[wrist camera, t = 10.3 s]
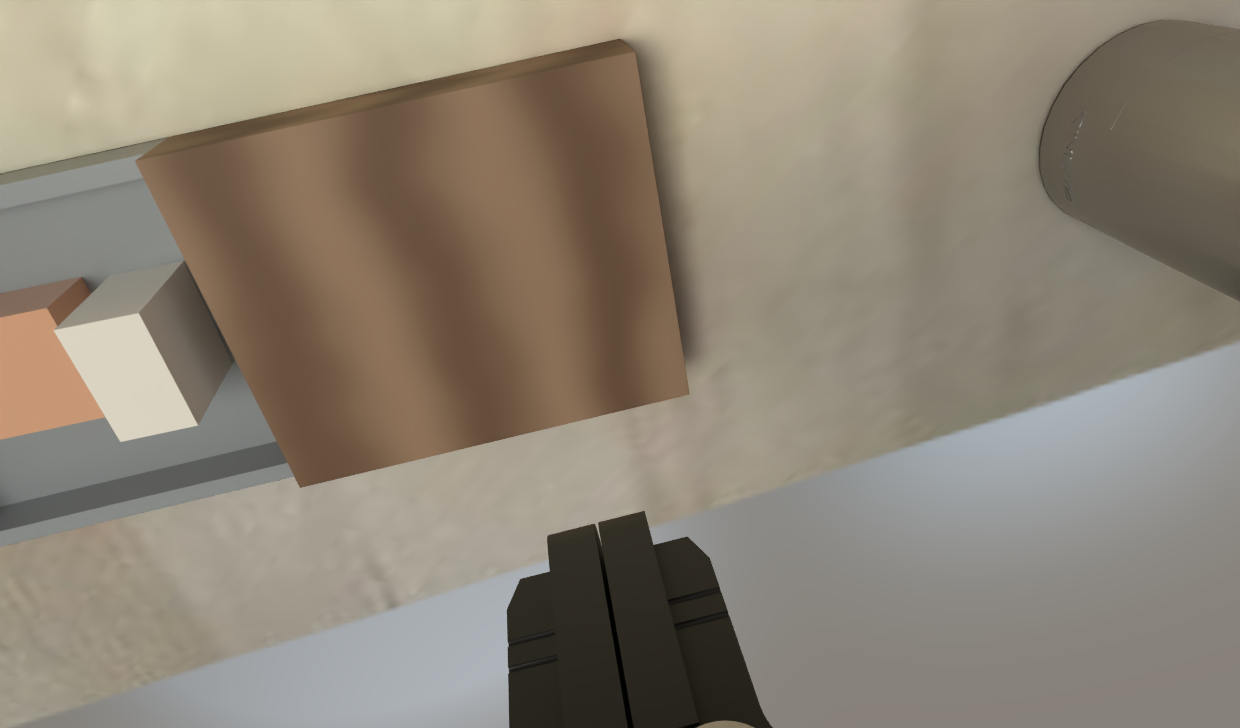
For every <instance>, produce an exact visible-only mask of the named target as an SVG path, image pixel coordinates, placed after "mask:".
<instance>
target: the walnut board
mask: <svg viewBox="0 0 1240 728" xmlns="http://www.w3.org/2000/svg"><path fill="white" fill-rule="evenodd" d="M135 163H136V164H137V166H138V168H139V170H140V172H141V174H142V176H143V178H144V180H145V182H146V184H147V186H148V188H149V190H150V192H151V194H152V196H153V198H154V200H155V202H156V204H157V206H158V208H159V210H160V212H161V214H162V216H163V218H164V220H165V222H166V224H167V226H168V228H169V230H170V232H171V234H172V236H173V238H174V240H175V242H176V244H177V245H178V247H179V249H180V251H181V253H182V255H183V257H184V259H185V261H186V263H187V265H188V267H189V269H190V271H191V273H192V275H193V277H194V279H195V281H196V283H197V285H198V287H199V289H200V291H201V293H202V295H203V297H204V299H205V301H206V303H207V305H208V307H209V309H210V311H211V313H212V315H213V317H214V319H215V321H216V323H217V325H218V327H219V328H220V330H221V332H222V334H223V336H224V338H225V340H226V342H227V344H228V346H229V348H230V350H231V352H232V354H233V356H234V358H235V360H236V362H237V364H238V366H239V368H240V370H241V372H242V374H243V376H244V378H245V380H246V382H247V384H248V386H249V388H250V390H251V392H252V394H253V396H254V398H255V400H256V402H257V404H258V406H259V408H260V409H261V411H262V413H263V415H264V417H265V419H266V421H267V423H268V425H269V427H270V429H271V431H272V433H273V435H274V437H275V439H276V441H277V443H278V445H279V447H280V449H281V451H282V453H283V455H284V457H285V459H286V461H287V463H288V465H289V467H290V469H291V471H292V473H293V475H294V477H295V479H296V481H297V483H298V485H299V487H300V488H301V487H305V486H309V485H313V484H318V483H322V482H326V481H330V480H334V479H339V478H343V477H347V476H351V475H355V474H359V473H364V472H368V471H372V470H376V469H380V468H384V467H389V466H393V465H397V464H401V463H405V462H409V461H414V460H418V459H422V458H426V457H430V456H434V455H439V454H443V453H447V452H451V451H455V450H459V449H464V448H468V447H472V446H476V445H480V444H484V443H489V442H493V441H497V440H501V439H505V438H510V437H514V436H518V435H522V434H526V433H530V432H535V431H539V430H543V429H547V428H551V427H555V426H560V425H564V424H568V423H572V422H576V421H580V420H585V419H589V418H593V417H597V416H601V415H605V414H610V413H614V412H618V411H622V410H626V409H630V408H635V407H639V406H643V405H647V404H651V403H655V402H660V401H664V400H668V399H672V398H676V397H680V396H685V395H689V388H688V381H687V375H686V369H685V362H684V356H683V350H682V343H681V337H680V331H679V325H678V318H677V312H676V306H675V299H674V293H673V287H672V280H671V274H670V268H669V261H668V255H667V249H666V243H665V236H664V230H663V224H662V217H661V211H660V205H659V198H658V192H657V186H656V179H655V173H654V167H653V161H652V154H651V148H650V142H649V135H648V129H647V123H646V116H645V110H644V104H643V98H642V91H641V85H640V79H639V72H638V66H637V60H636V53H635V51H634V50H633V49H632V48H630V47H629V46H628V45H627V44H626V43H624V42H623V41H622V40H621V39H617V40H613V41H608V42H603V43H599V44H594V45H590V46H585V47H580V48H576V49H571V50H567V51H562V52H557V53H553V54H548V55H544V56H539V57H534V58H530V59H525V60H521V61H516V62H512V63H507V64H502V65H498V66H493V67H489V68H484V69H479V70H475V71H470V72H466V73H461V74H456V75H452V76H447V77H443V78H438V79H433V80H429V81H424V82H420V83H415V84H410V85H406V86H401V87H397V88H392V89H388V90H383V91H378V92H374V93H369V94H365V95H360V96H355V97H351V98H346V99H342V100H337V101H332V102H328V103H323V104H319V105H314V106H309V107H305V108H300V109H296V110H291V111H286V112H282V113H277V114H273V115H268V116H264V117H259V118H254V119H250V120H245V121H241V122H236V123H231V124H227V125H222V126H218V127H213V128H208V129H204V130H199V131H195V132H190V133H185V134H181V135H176V136H172V137H168V138H167V139H165V140H164V141H163V142H161V143H160V144H158V145H157V146H156V147H154V148H153V149H151V150H150V151H148V152H147V153H146V154H144V155H143V156H141V157H140V158H138V159H137V160H136V161H135Z"/></svg>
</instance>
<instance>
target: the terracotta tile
mask: <svg viewBox="0 0 1240 728" xmlns="http://www.w3.org/2000/svg"><path fill="white" fill-rule="evenodd" d="M89 295H91V293H90V291H89V289H88V288H87V286H86V284H85V282H84V281H83V279H82V277H78V278H73V279H68V280H63V281H58V282H53V283H48V284H44V285H39V286H34V287H29V288H24V289H19V290H14V291H9V292H4V293H0V440H1V439H6V438H11V437H15V436H20V435H25V434H29V433H34V432H39V431H43V430H48V429H53V428H58V427H62V426H67V425H72V424H76V423H81V422H86V421H90V420H95V419H100V418H104V417H105V415H104V414H103V412H102V410H101V409H100V407H99V405H98V404H97V402H96V400H95V399H94V397H93V395H92V394H91V392H90V390H89V389H88V387H87V385H86V384H85V382H84V380H83V379H82V377H81V375H80V374H79V372H78V370H77V369H76V367H75V365H74V364H73V362H72V360H71V359H70V357H69V355H68V354H67V352H66V350H65V349H64V347H63V345H62V344H61V342H60V340H59V339H58V337H57V335H56V334H55V332H54V329H55V328H56V327H57V326H58V325H59V324H61V323H62V322H63V321H64V320H65V319H66V318H67V317H68V316H69V315H70V314H71V313H72V312H73V311H74V310H75V309H76V308H77V307H78V306H79V305H80V304H81V303H82V302H83V301H84V300H85V299H86V298H87V297H88V296H89Z"/></svg>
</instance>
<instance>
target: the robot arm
mask: <svg viewBox="0 0 1240 728" xmlns="http://www.w3.org/2000/svg"><path fill="white" fill-rule="evenodd" d="M1040 170H1041V175H1042V179H1043V183H1044V187H1045V188H1046V190H1047V192H1048V194H1049V196H1050V198H1051V200H1052V201H1053V202H1054V203H1055V204H1056V205H1057V206H1058V207H1059V208H1060V209H1061V210H1062V211H1063V212H1065V213H1067V214H1069V215H1071V216H1072V217H1074V218H1076V219H1078V220H1080V221H1082V222H1084V223H1086V224H1088V225H1090V226H1092V227H1094V228H1096V229H1098V230H1100V231H1102V232H1104V233H1106V234H1108V235H1110V236H1112V237H1113V238H1115V239H1117V240H1119V241H1121V242H1123V243H1125V244H1126V245H1128V246H1130V247H1132V248H1134V249H1136V250H1138V251H1140V252H1142V253H1144V254H1146V255H1148V256H1150V257H1152V258H1154V259H1156V260H1158V261H1160V262H1162V263H1164V264H1166V265H1168V266H1170V267H1172V268H1174V269H1176V270H1178V271H1180V272H1182V273H1184V274H1186V275H1188V276H1190V277H1192V278H1194V279H1196V280H1198V281H1200V282H1202V283H1204V284H1206V285H1208V286H1210V287H1212V288H1214V289H1216V290H1218V291H1220V292H1222V293H1224V294H1226V295H1228V296H1230V297H1232V298H1234V299H1236V300H1238V301H1240V29H1235V28H1228V27H1221V26H1214V25H1207V24H1200V23H1193V22H1186V21H1170V20H1161V21H1156V22H1152V23H1147V24H1142V25H1139V26H1137V27H1135V28H1133V29H1130V30H1128V31H1126V32H1123V33H1121V34H1119V35H1118V36H1116V37H1115V38H1113V39H1112V40H1110V41H1109V42H1107V43H1106V44H1104V45H1103V46H1101V47H1100V48H1099V49H1098V50H1097V51H1095V52H1094V53H1093V54H1092V55H1091V56H1090V57H1089V58H1088V59H1087V60H1086V61H1085V62H1084V63H1082V64H1081V65H1080V67H1079V68H1078V69H1077V70H1076V72H1075V73H1074V74H1073V75H1072V77H1071V78H1070V79H1069V80H1068V82H1067V83H1066V84H1065V86H1064V87H1063V89H1062V91H1061V93H1060V94H1059V96H1058V98H1057V100H1056V101H1055V103H1054V105H1053V107H1052V109H1051V112H1050V114H1049V117H1048V120H1047V122H1046V125H1045V127H1044V132H1043V137H1042V142H1041V147H1040ZM598 525H599V532H600V538H601V542H600V538H599V535H598V532H597V528H596V526H595V524H591V525H587V526H583V527H579V528H576V529H572V530H568V531H564V532H560V533H556V534H552V535H548V537H547V543H548V555H549V567H550V572H546V573H542V574H539V575H535V576H531V577H527V578H523V579H520V581H519V584H518V586H517V588H516V590H515V593H514V595H513V597H512V599H511V602H510V604H509V606H508V609H507V629H508V632H507V633H508V644H509V647H508V668H509V674H508V677H509V678H508V679H509V680H508V681H509V727H510V728H772V726H771V725H770V724H769V722H768V721H767V719H766V718H765V716H764V714H763V712H762V710H761V707H760V705H759V702H758V699H757V696H756V693H755V690H754V687H753V684H752V681H751V678H750V675H749V672H748V669H747V666H746V663H745V660H744V658H743V655H742V652H741V649H740V646H739V643H738V640H737V637H736V634H735V631H734V629H733V625H732V623H731V619H730V617H729V615H728V611H727V608H726V605H725V602H724V599H723V596H722V593H721V591H720V587H719V584H718V581H717V579H716V575H715V572H714V569H713V567H712V564H711V561H710V558H709V557H708V556H707V555H706V554H705V553H704V552H703V551H702V550H701V549H700V548H699V547H698V546H697V545H696V544H695V543H694V542H693V541H691V540H690V539H689V538H688V537H684V538H680V539H676V540H672V541H668V542H664V543H660V544H656V545H653V542H652V538H651V534H650V530H649V526H648V522H647V519H646V515H645V511H642V512H638V513H634V514H630V515H626V516H622V517H618V518H614V519H610V520H606V521H602V522H599V523H598ZM601 543H602V545H601Z"/></svg>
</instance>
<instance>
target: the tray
mask: <svg viewBox="0 0 1240 728" xmlns="http://www.w3.org/2000/svg"><path fill="white" fill-rule="evenodd" d="M167 138H168V137H167ZM167 138H162V139H158V140H153V141H149V142H144V143H139V144H135V145H130V146H126V147H121V148H117V149H112V150H107V151H103V152H98V153H94V154H89V155H84V156H80V157H75V158H71V159H66V160H61V161H57V162H52V163H48V164H43V165H38V166H34V167H29V168H25V169H20V170H15V171H11V172H6V173H2V174H0V293H4V292H9V291H14V290H19V289H24V288H29V287H34V286H39V285H44V284H48V283H53V282H58V281H63V280H68V279H73V278H78V277H82V279H83V281H84V282H85V284H86V286H87V288H88V289H89V291H90V293H91V294H92V293H93V292H94V291H95V290H96V289H97V288H98V287H99V286H100V285H101V284H102V283H103V282H104V281H105V280H106V279H107V278H108V277H109V276H110V275H115V274H120V273H125V272H130V271H135V270H140V269H145V268H150V267H155V266H160V265H165V264H170V263H175V262H180V261H184V262H185V264H186V266H187V269H188V271H189V273H190V275H191V277H192V279H193V281H194V283H195V285H196V287H197V289H198V292H199V294H200V296H201V298H202V300H203V302H204V304H205V306H206V308H207V310H208V313H209V315H210V317H211V319H212V321H213V323H214V325H215V327H216V329H217V331H218V334H219V336H220V338H221V340H222V342H223V344H224V346H225V348H226V350H227V352H228V355H229V357H230V359H231V361H232V365H231V367H230V369H229V371H228V373H227V374H226V376H225V378H224V380H223V382H222V383H221V385H220V387H219V389H218V391H217V392H216V394H215V396H214V398H213V400H212V401H211V403H210V405H209V407H208V409H207V410H206V412H205V414H204V416H203V418H202V419H201V421H200V423H199V425H198V426H194V427H189V428H184V429H179V430H175V431H170V432H165V433H161V434H156V435H151V436H146V437H142V438H137V439H132V440H128V441H123V442H120V440H119V439H118V437H117V435H116V434H115V432H114V430H113V429H112V427H111V425H110V424H109V422H108V420H107V419H106V417H104V418H100V419H95V420H90V421H86V422H81V423H76V424H72V425H67V426H62V427H58V428H53V429H48V430H43V431H39V432H34V433H29V434H25V435H20V436H15V437H11V438H6V439H1V440H0V547H1V546H6V545H10V544H14V543H18V542H22V541H27V540H31V539H35V538H39V537H43V536H47V535H52V534H56V533H60V532H64V531H68V530H73V529H77V528H81V527H85V526H89V525H93V524H98V523H102V522H106V521H110V520H114V519H119V518H123V517H127V516H131V515H135V514H139V513H144V512H148V511H152V510H156V509H160V508H165V507H169V506H173V505H177V504H181V503H186V502H190V501H194V500H198V499H202V498H206V497H211V496H215V495H219V494H223V493H227V492H232V491H236V490H240V489H244V488H248V487H252V486H257V485H261V484H265V483H269V482H273V481H278V480H282V479H286V478H290V477H294V475H293V473H292V471H291V469H290V467H289V465H288V463H287V461H286V459H285V457H284V455H283V453H282V451H281V449H280V447H279V445H278V443H277V441H276V439H275V437H274V435H273V433H272V431H271V429H270V427H269V425H268V423H267V421H266V419H265V417H264V415H263V413H262V411H261V409H260V408H259V406H258V404H257V402H256V400H255V398H254V396H253V394H252V392H251V390H250V388H249V386H248V384H247V382H246V380H245V378H244V376H243V374H242V372H241V370H240V368H239V366H238V364H237V362H236V360H235V358H234V356H233V354H232V352H231V350H230V348H229V346H228V344H227V342H226V340H225V338H224V336H223V334H222V332H221V330H220V328H219V327H218V325H217V323H216V321H215V319H214V317H213V315H212V313H211V311H210V309H209V307H208V305H207V303H206V301H205V299H204V297H203V295H202V293H201V291H200V289H199V287H198V285H197V283H196V281H195V279H194V277H193V275H192V273H191V271H190V269H189V267H188V265H187V263H186V261H185V259H184V257H183V255H182V253H181V251H180V249H179V247H178V245H177V244H176V242H175V240H174V238H173V236H172V234H171V232H170V230H169V228H168V226H167V224H166V222H165V220H164V218H163V216H162V214H161V212H160V210H159V208H158V206H157V204H156V202H155V200H154V198H153V196H152V194H151V192H150V190H149V188H148V186H147V184H146V182H145V180H144V178H143V176H142V174H141V172H140V170H139V168H138V166H137V164H136V163H135V161H136V160H137V159H138V158H140V157H141V156H143V155H144V154H146V153H147V152H148V151H150V150H151V149H153V148H154V147H156V146H157V145H158V144H160V143H161V142H163V141H164V140H165V139H167Z"/></svg>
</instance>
